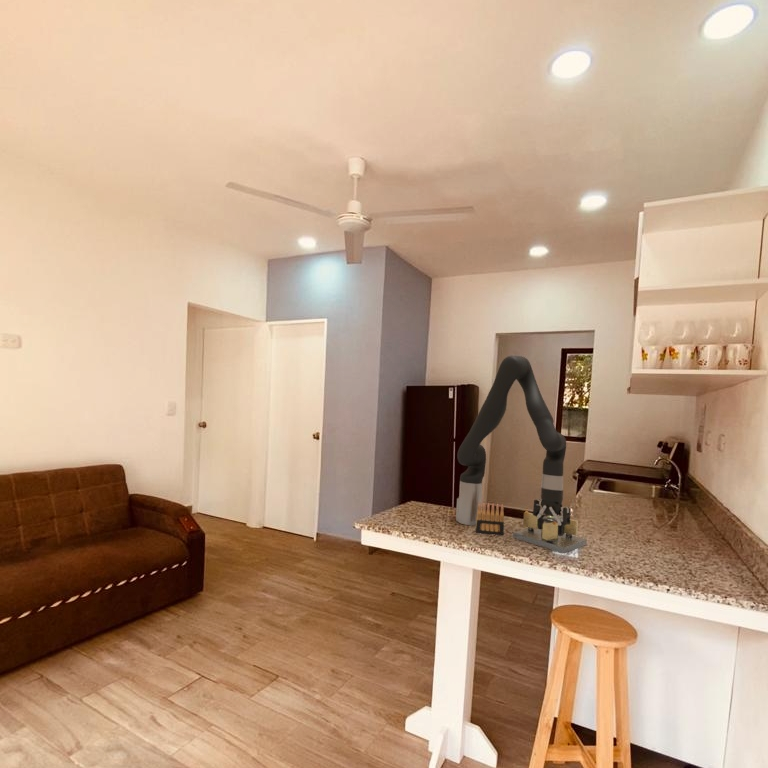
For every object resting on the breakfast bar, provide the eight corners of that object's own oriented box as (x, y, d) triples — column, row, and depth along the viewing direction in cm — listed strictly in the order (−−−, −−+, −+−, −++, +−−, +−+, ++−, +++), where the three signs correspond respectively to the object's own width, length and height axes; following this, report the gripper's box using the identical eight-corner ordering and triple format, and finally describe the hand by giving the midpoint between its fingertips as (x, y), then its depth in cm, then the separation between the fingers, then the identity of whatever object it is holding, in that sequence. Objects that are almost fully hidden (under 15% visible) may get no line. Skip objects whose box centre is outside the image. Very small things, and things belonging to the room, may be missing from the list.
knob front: (541, 541, 158) (542, 521, 158) (552, 540, 161) (553, 520, 161) (547, 543, 156) (548, 523, 156) (557, 541, 159) (558, 522, 159)
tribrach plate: (513, 537, 167) (514, 513, 168) (537, 530, 179) (538, 508, 180) (563, 553, 152) (564, 526, 153) (586, 545, 164) (587, 520, 165)
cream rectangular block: (575, 538, 165) (576, 519, 165) (560, 535, 168) (561, 516, 168) (577, 537, 166) (578, 518, 167) (562, 534, 170) (563, 515, 170)
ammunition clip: (475, 533, 170) (477, 502, 171) (475, 531, 172) (476, 501, 173) (503, 535, 170) (505, 504, 170) (502, 534, 171) (504, 503, 172)
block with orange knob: (535, 532, 169) (536, 514, 170) (523, 528, 174) (523, 510, 174) (538, 531, 171) (539, 513, 171) (526, 528, 175) (526, 510, 175)
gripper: (529, 484, 163) (527, 528, 162) (562, 491, 151) (560, 539, 150) (543, 483, 167) (541, 526, 166) (576, 490, 155) (574, 537, 154)
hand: (550, 532), depth 158 cm, fingers open, 8 cm apart
